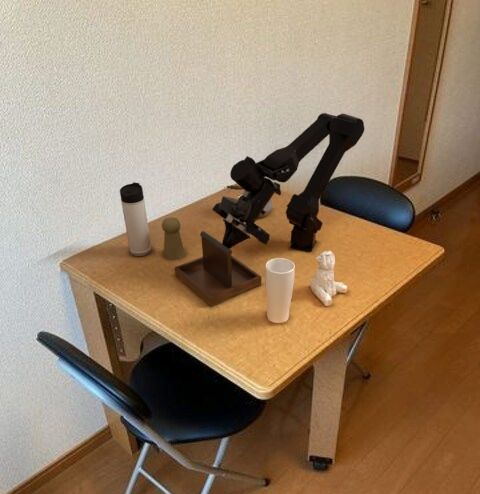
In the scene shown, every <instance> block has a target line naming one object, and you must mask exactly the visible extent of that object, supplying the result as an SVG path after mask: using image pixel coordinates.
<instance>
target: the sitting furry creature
mask: <svg viewBox="0 0 480 494" xmlns="http://www.w3.org/2000/svg"><path fill="white" fill-rule="evenodd" d="M314 260H315V261H316V262H317V263H318V265H319V267H318V268H317V270H316V272H315V275H314V276H313V277H311V278H310V280H309V282H310V283H309V284H310V285H309V287H310V290H311V291H312V293H313V294H314V295H315V296H316V298H317V299H318V300H319V301H320V302H321V303H322V304H323V305H324V306H326V307H329V306H331V304H332V303H333V298H332V297H334V296H336V295H337V294H338V293H339V294H340V293H341V294H347V290H348V286H347V285H346V284H344V283H343V282H340V281H336V280H335V272H334V268H335V264H336V258H335V253H333V251H332V250H331V249H330V250H324V251H323V252H321V253H320V254H319V255H318V256H315V258H314Z"/></svg>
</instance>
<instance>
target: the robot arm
mask: <svg viewBox="0 0 480 494" xmlns="http://www.w3.org/2000/svg"><path fill="white" fill-rule="evenodd" d="M365 129H366V128H365V123H364V120H363V119H362V118H359V117H356V116H353V115H349V114H347V113H340V114H337V115H333V114H329V113H327V112H323V113H320V114H319V115H318V116H317V117H316V120H315V121H313V122H312V123H311V124H310V125H309V126H308V127H307V128H306V129H304V130H303V131H302V132H301V133H300V134H299V135H298V136H296V138H295V139H294V140H292V141H291V143H289V144H288V145H287V146H284V147H281V148H278V149H276V150H274V151H273V152H271V153H269V154H268V155H267V156H265V158H264V159H261V160H259V161H257V162H256V161H255V159H254V158H252V157H250V156H248V155H247V156H246V157H245V158H244V159H241V160H239V161H238V162H236V163H235V164H233V165H232V167H231V169H230V173H229V175H230V179H231V180H232V181H233V182H235V184H237V186H240V187H242V188H243V190H245V191H247V192H248V193H247V195H246V196H243V194H241V195H240V196H239V197H238V198H235V197H229V196H226V195H223V196H222V197H221V200H220V202H217V203H215V204H214V205H213V207H212V209H211V210H212V211H213V212H214V213H216V214H217V215H219V216H220V217H221V218H223V219H222V221H223V222H224V228H225V229H224V233H223V238H222V242H221V243H222V244H223V245H225V246H226V247H227V248H229V249H230V250H231V249H232V248H233V247H235V246H237V245H239V244H240V243H242V242H244V241H246V240H251V239H252V237H254V238H255V239H256V240H257V241H258V242H260V243H261V244H262V245H265V246H267V244H268V243H269V242H270V240H271V238H270V237H271V235H270V233H268V232H267V231H266V230H265V229H263V228H262V227H261V226H260V225H258V224H257V223H256V221H257V220H258V219H259V218H258V217H259V215H260V214H262V215H264V214H265V211H264V210H263V209H264V208H265V206H266V205H267V203H268V202H269V200H270V199H271V200H272V198H273V196H274V195H275V194H276V195H278V196H281V195H282V190H281V184H280V183H287V182H288V181H289V180H290V179H291V178H292V177H293V175H294V174H295V173H296V172H297V170H298V167H299V164H300V163H301V161H302V160H303V159H304V158H306V156H307V155H308V154H310V153H311V152H312V151H313V150H314V149H316V148H317V146H318V145H319V144H320V143H322V142H323V141H324V140H325V139H326V138H327V137H328V139H329V140H328V144H327V147H326V148H325V151H324V152H323V153H322V156H321V158H320V160H319V162H318V164H317V166H316V167H315V169H314V171H313V172H312V174H311V177H310V178H309V181H308V182H307V184H306V186H305V188H304V189H303V191H302V192H300V193H299V194H296V193H294V194H293V195H292V196H291V198H290V201H288V204H287V205H286V210H285V214H286V215H285V217H286V219H287V220H288V223H289V224H290V225H291V226H293V227H292V229H291V231H290V244H291V245H290V246H289V247H290V249H293V250H298V251H303V252H309V253H311V252H312V251H313V250H314V248H315V246H316V244H317V240H316V237H317V234H318V232H319V231H321V229H322V226H323V222H322V220H320V219H319V218H318V214H319V212H320V199H321V197H322V195H323V194H324V191H325V189H326V188H327V187H328V184H329V183H330V180H331V179H332V177H333V175H334V173H335V172H336V169H337V168H338V166H339V164H340V162H341V161H342V158H343V157H344V155H345V153H347V152H348V151H349V150H351V149H352V148H353V147H355V146H356V145H357V143H358V142H359V140H361V138H362V136H363V135H364V133H365ZM264 177H266V178H264ZM276 181H277V182H276ZM257 218H258V219H257ZM251 236H252V237H251Z"/></svg>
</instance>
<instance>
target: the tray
mask: <svg viewBox="0 0 480 494" xmlns="http://www.w3.org/2000/svg"><path fill="white" fill-rule="evenodd" d="M199 235H200V237H201V251H202V252H201V253H202V256H201V257H197V258H195V259H193V260H190V261H188V262H185V263H182V264H179V265H177V266H174V267H173V269H174V276H176V278H178V279H179V280H180V281H181V282H182V283H183V284H184V285H186V287H188V288H189V289H190V290H191V291H193V292H194V293H195V294H196V295H197V296H198V297H199V298H201V299H202V300H203V301H204V302H205V303H206V304H208V305H209V306H210V307H214V306H216V305H218V304H220V303H222V302H225V301H227V300H230V299H231V298H232V299H233V298H234V297H236V296H239V295H241V294H244V293H246V292H248V291H250V290H252V289H254V288H257V287H259V286H262V276H261V275H260V274H258V273H257V272H256V271H255V270H253V269H251V268H250V267H249V266H247V265H246V264H244V263H243V262H241V260H239V259H238V258H237V257H235V256H233V255H232V254H233V250H232V249H231V248H230V249H229V248H227V247H226V246H225V245H223V244H222V242H221V241H219V240H218V239H216V238H215V237H214V236H211V235H210V234H209V233H208V232H206V231H205V230H202V231H200V233H199Z"/></svg>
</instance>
